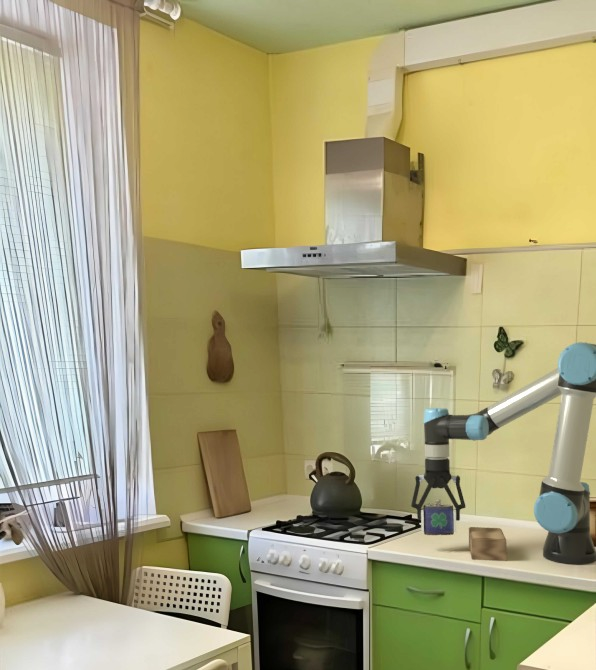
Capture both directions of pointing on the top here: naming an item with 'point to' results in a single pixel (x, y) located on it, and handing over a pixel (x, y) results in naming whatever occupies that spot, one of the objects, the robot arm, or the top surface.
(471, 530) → the walnut block
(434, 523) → the flask
